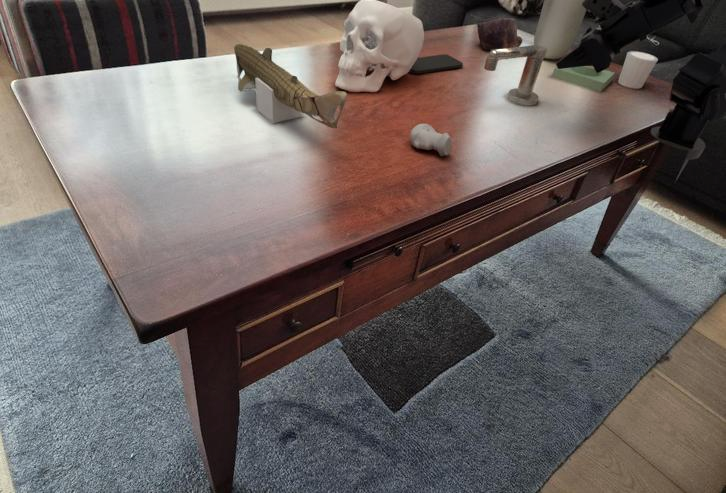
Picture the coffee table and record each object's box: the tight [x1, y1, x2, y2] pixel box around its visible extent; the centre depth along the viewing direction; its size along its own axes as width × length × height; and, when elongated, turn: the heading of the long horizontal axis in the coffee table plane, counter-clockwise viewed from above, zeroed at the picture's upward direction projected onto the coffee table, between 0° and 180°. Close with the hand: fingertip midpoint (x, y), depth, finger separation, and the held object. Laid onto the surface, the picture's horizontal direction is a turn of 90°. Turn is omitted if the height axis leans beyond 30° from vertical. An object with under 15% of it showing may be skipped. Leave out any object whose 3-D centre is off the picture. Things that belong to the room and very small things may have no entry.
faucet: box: [507, 56, 544, 107], centre depth 102 cm, size 6×6×9 cm
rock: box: [476, 17, 523, 52], centre depth 127 cm, size 12×9×10 cm
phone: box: [409, 53, 464, 75], centre depth 115 cm, size 7×1×15 cm
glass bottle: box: [533, 0, 588, 60], centre depth 120 cm, size 10×10×28 cm
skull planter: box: [334, 0, 425, 93], centre depth 102 cm, size 14×20×19 cm
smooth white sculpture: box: [409, 123, 453, 157], centre depth 82 cm, size 4×8×5 cm
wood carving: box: [233, 43, 348, 129], centre depth 84 cm, size 9×35×11 cm, turn 37°
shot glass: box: [617, 50, 659, 90], centre depth 116 cm, size 7×7×7 cm
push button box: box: [551, 66, 616, 93], centre depth 117 cm, size 12×10×4 cm
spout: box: [483, 44, 547, 72], centre depth 96 cm, size 15×3×4 cm, turn 119°
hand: (557, 66), depth 90 cm, fingers closed
